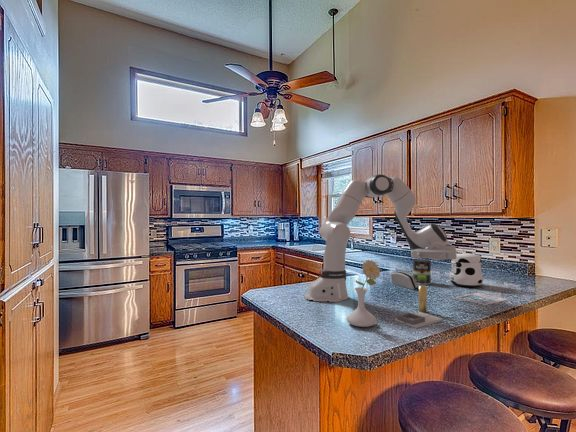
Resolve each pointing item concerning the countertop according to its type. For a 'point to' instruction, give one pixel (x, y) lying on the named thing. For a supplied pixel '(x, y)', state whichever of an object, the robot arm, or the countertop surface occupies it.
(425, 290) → the hinge pin
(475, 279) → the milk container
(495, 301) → the photo frame
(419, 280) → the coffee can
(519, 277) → the countertop surface
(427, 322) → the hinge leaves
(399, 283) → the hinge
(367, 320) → the flower in vase
